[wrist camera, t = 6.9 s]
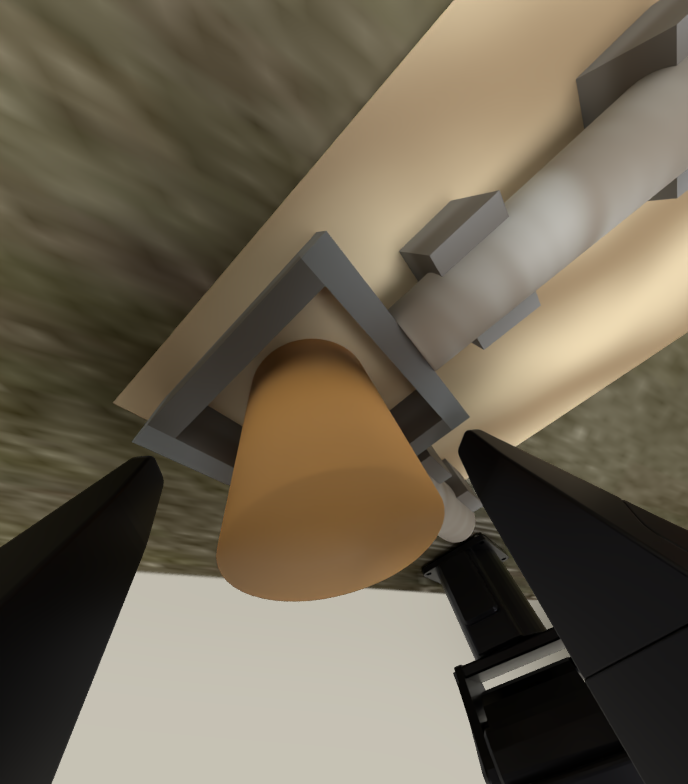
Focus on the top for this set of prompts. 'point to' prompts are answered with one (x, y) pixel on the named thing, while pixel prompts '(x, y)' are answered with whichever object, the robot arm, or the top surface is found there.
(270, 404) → the tan rounded piece
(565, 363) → the shaft board
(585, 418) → the top surface
